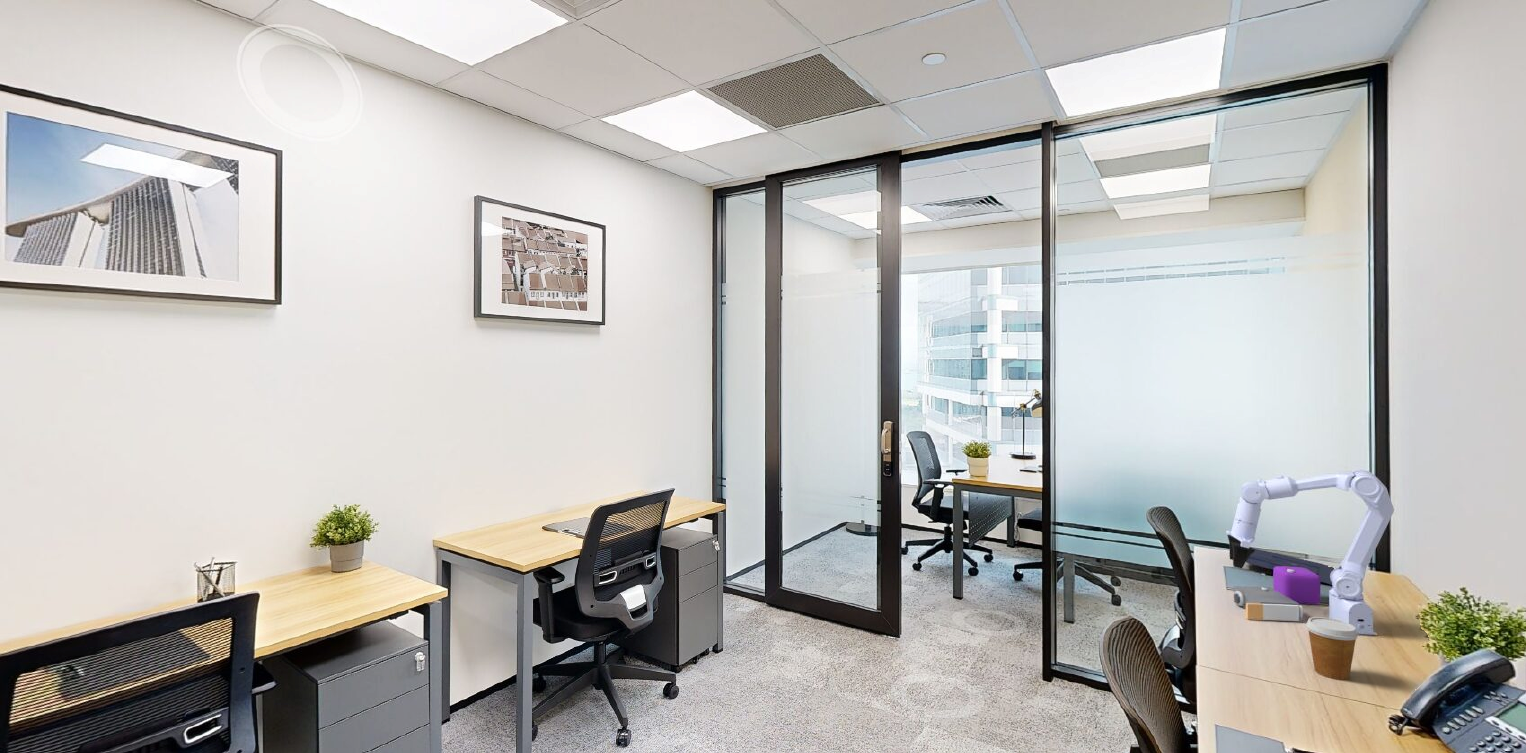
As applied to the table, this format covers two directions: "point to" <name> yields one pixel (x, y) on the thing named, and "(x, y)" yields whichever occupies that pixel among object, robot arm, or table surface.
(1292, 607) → the side door
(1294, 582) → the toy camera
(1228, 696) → the table surface
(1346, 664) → the disposable coffee cup
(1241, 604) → the grey box
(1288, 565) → the dark grey slab
